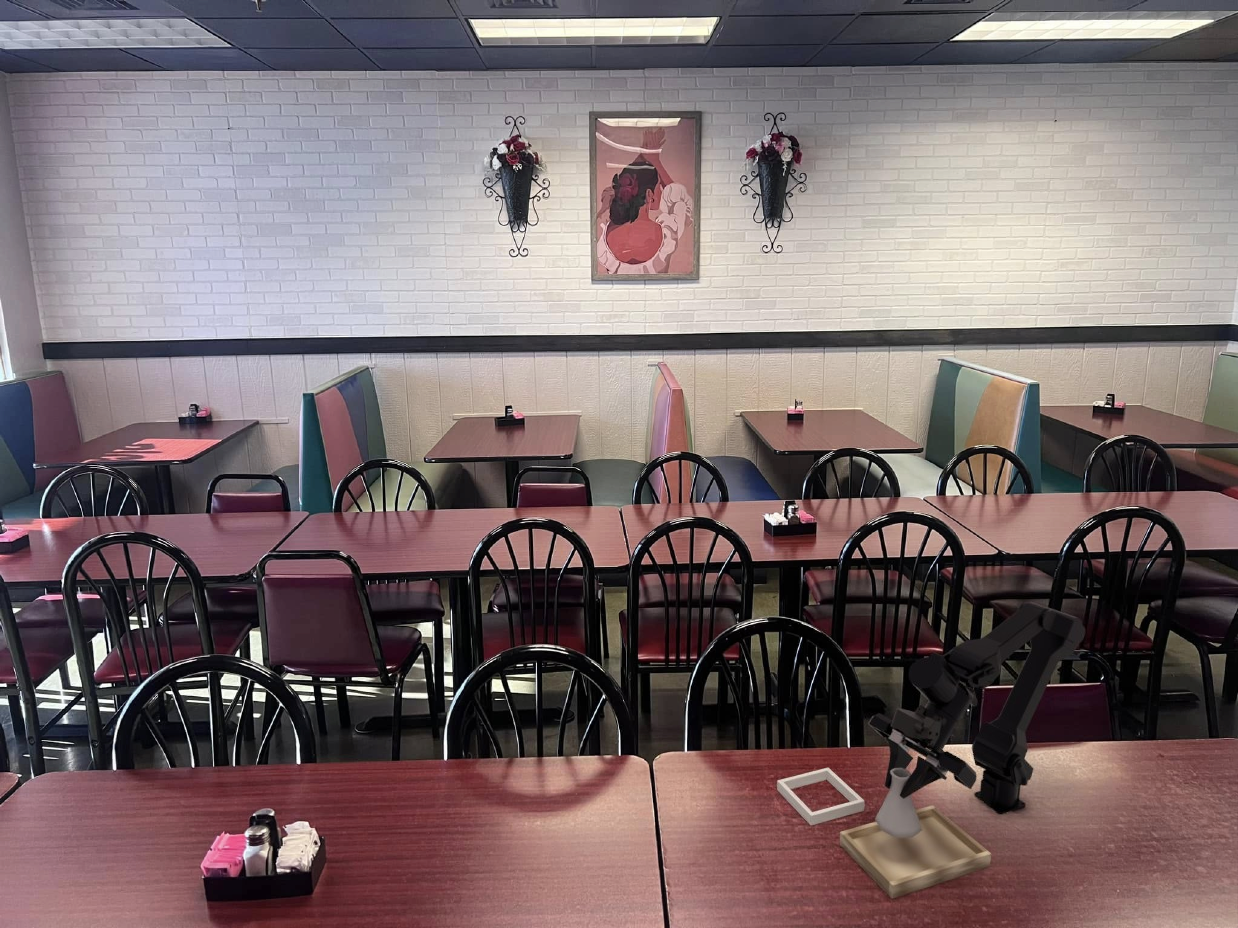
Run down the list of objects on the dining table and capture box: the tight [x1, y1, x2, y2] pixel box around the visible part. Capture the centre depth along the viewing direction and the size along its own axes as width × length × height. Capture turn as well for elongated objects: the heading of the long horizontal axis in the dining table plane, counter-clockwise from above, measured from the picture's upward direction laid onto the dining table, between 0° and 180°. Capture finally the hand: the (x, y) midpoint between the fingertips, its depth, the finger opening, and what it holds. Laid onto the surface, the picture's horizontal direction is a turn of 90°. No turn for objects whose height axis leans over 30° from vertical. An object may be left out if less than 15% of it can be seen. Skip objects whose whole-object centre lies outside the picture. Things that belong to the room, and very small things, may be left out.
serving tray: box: [839, 804, 992, 900], centre depth 141 cm, size 20×14×2 cm
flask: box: [874, 768, 922, 838], centre depth 139 cm, size 7×7×10 cm
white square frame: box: [776, 767, 866, 826], centre depth 156 cm, size 12×12×2 cm
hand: (894, 792), depth 138 cm, fingers closed on flask, 3 cm apart
